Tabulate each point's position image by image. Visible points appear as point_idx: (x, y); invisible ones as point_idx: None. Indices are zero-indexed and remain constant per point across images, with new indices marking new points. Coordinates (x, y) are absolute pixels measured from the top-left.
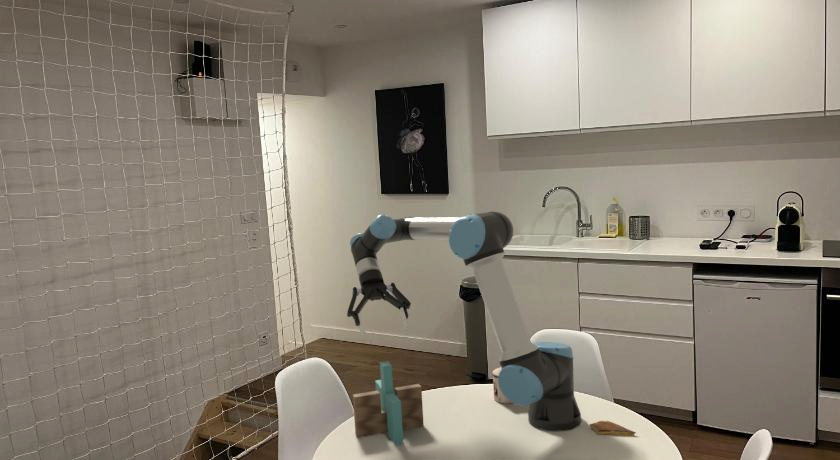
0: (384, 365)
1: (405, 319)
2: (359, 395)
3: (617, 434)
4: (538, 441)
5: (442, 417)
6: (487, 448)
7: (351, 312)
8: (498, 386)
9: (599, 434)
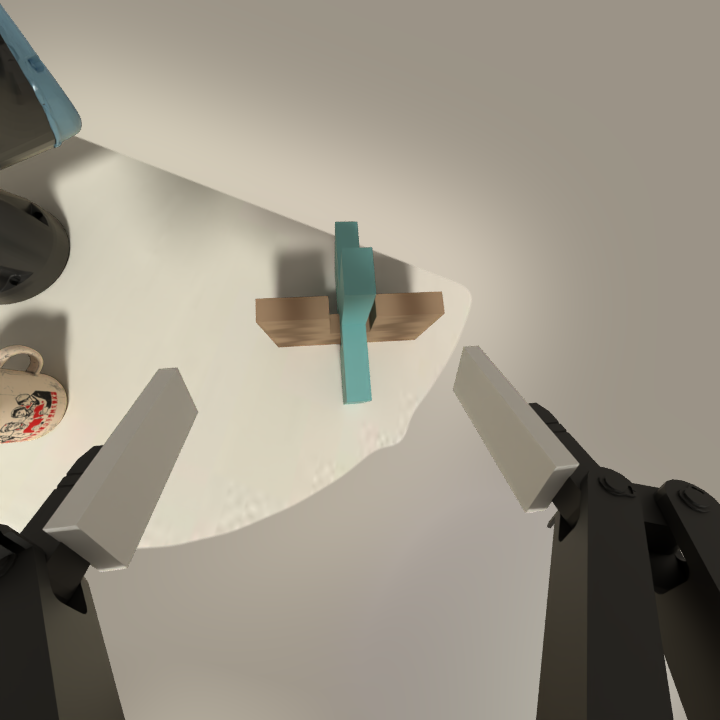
0: (366, 253)
1: (145, 402)
2: (428, 299)
3: None
4: (100, 188)
5: (226, 356)
6: (200, 198)
7: (653, 502)
8: (22, 386)
9: None
